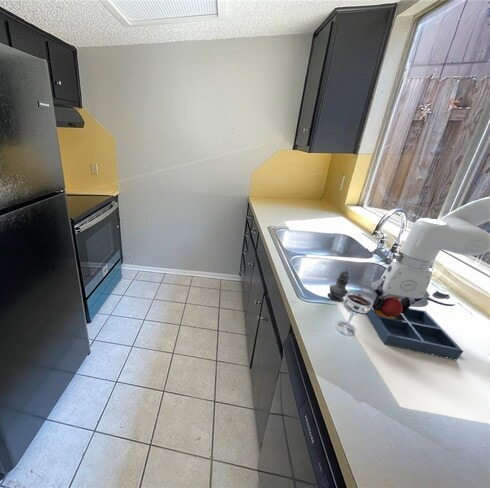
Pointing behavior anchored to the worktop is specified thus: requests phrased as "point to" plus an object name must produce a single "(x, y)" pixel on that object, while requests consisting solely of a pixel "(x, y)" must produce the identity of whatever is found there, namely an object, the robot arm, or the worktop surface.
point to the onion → (392, 306)
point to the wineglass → (354, 309)
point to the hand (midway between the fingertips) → (389, 308)
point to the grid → (413, 332)
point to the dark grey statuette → (339, 287)
